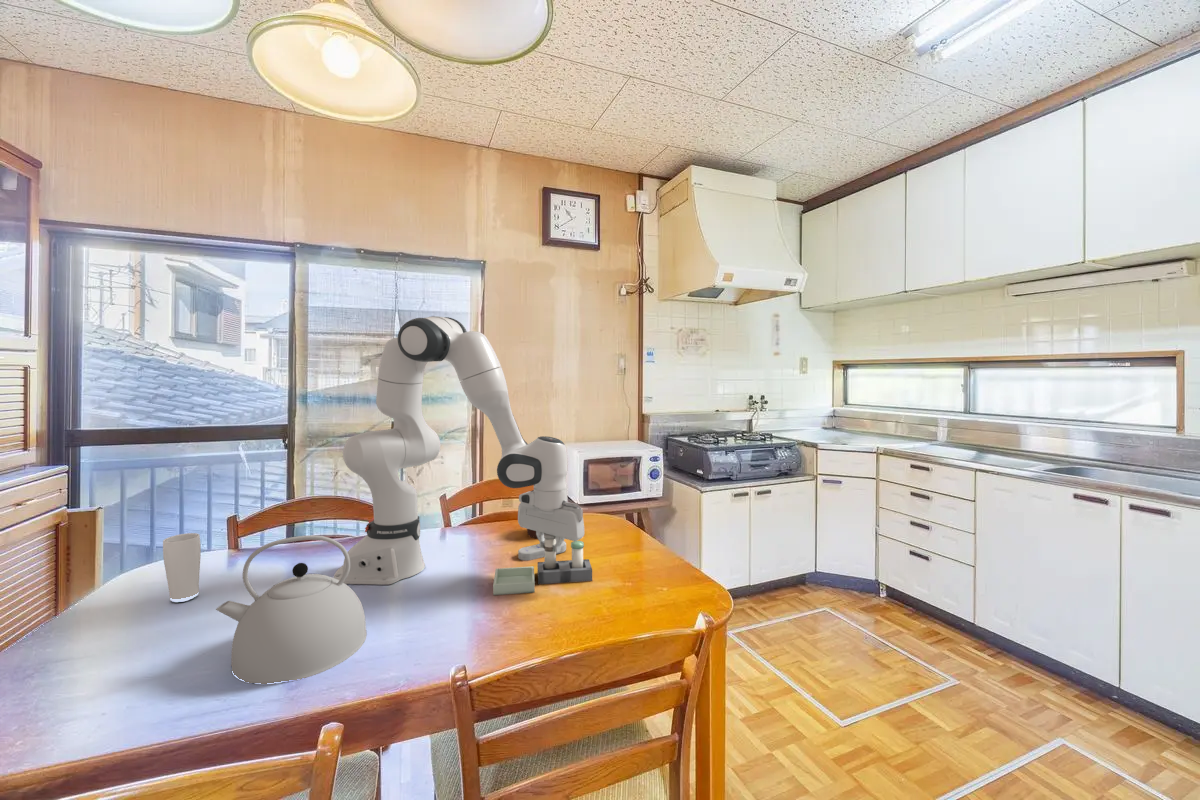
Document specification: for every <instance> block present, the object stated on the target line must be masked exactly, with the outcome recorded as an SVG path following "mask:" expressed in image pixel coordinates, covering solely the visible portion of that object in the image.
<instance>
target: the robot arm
mask: <svg viewBox="0 0 1200 800" xmlns="http://www.w3.org/2000/svg"><path fill="white" fill-rule="evenodd" d="M397 333H398V334H397V337H393V338H391V339H388V340H387V342H386V343H385V344H384V347H383V350H382V354H381V357H380V362H379V368H378V374H377V375H378V376H377V386H376V387H377V388H376V398H375V399H376V400H375V404H376V407H377V409H378V410H379V411H380V413H382V414H383V415H385V416H387V417H389V418H391V419H392V420H393V428H389V429H380V430H368V431H365V432H361V433H359V434H355V435H352V436H349V438H348V439H347V440H346V442H345V444H344V447H343V449H342V458H343V462H344V464H345V466H346V467H347V468H348V469H349V470H350V471H351V472H352V473H355V474H356V475H358V476H359V477H360V478H361V479H362V480H364V482H365V484H367V486H368V488H369V491H370V493H371V498H372V508H373V517H372V518H371V519H369V521H368V523H367V524H366V526H365V528H364V533H366V535H365V536H364V537H363V538H361V539H360V540H359V541H358V542H356V543H355V544H354V545H353V546H351V547H350V548H349V550H347V552H348V555H349V558H350V570H349V573H348V576H347V577H346V579H345V581H344V582H343V583H344V584H346V585H382V586H383V585H392V584H394V583H397V582H398V581H401V580H404V579H407V578H410V577H413V576H415V575H417V574H419V573H421V572H422V571H423V570H424V569H425V568H426V563H425V561H424V558H423V553H422V549H421V544H420V543H421V542H420V537H421V522H420V516H419V513H418V512H419V511H418V508H419V507H418V503H419V502H418V491H417V489H416V488H415V487H414V485H413V484H411V483H410V482H407V481H403V480H401V479H400V477H399V471H398V470H400V469H405V468H412V467H418V466H422V465H424V464H427V463H429V462H432V461H434V460H435V459H436V458H437V457H438V456H439V453H440V451H441V439H440V437H439V434H437V432H436V431H435V430H434V429H433V428H431V426H429V424H428V423H427V421H426V420H425V417H424V413H423V406H422V405H423V403H422V402H423V388H424V379H425V378H424V377H425V376H424V375H425V370H426V365H427V364H428V362H429V363H430V362H442V361H447V362H448V363H449V364H451V365H452V366H453V368H454V370H455V372H456V376H457V378H458V380H459V383H460V386H461V387H462V390H463V393H464V394H465V396H466V398H467V400H468V401H469V402H470V404H471V406H473V407H474V408H476V409H477V410H479V411H481V412H482V413H483V414H484V415H485V416H486V417H487V418H488V420H489V422H490V423H491V426H492V428H493V431H494V432H495V435H496V437H497V440H498V442H499V444H500V448H501V458H500V459H499V461H498V463H497V467H496V474H497V477H498V480H499V481H500V483H502V484H503V486H505V487H506V488H507V487H508V488H510V489H521V488H527V487H531V486H533V489H531V490H530V491H527V492H523V493H521V494H519V495H518V501H519V505H518V508H517V509H518V510H517V523H518V525H519V526H520V528H524V529H526V530H527V529H530V530H534V531H536V535H537V540H538V541H539V544H540V548H543V549H545V538H544V533H545V534H549V535H553V536H556V540H557V542H556V544H554V545H553V549H552V550H553V551H554V552H557V553H558V552H560V551H561V544H562V543H563V541H565V540H568V541H571V542H573V541H580V540H581V539H583V537H585V522H584V511H583V509H582V507H581V506H580V505H579V504H578V503H575V502H573V503H572V502H570V501H568V483H567V474H568V471H569V470H568V465H569V464H568V462H569V461H568V452H567V451H568V450H567V446H566V443H564V442H563V440H561V439H559V438H556V437H551V436H538V437H536V438H535V440H532V441H530V442H529V443H527V441H525V439H524V438H523V435H522V432H521V430H520V429H519V425H518V423H517V420H516V418H515V416H514V414H513V411H512V407H511V402H510V396H509V390H508V389H509V388H508V384H507V381H506V376H505V373H504V370H503V367H502V364H501V362H500V360H499V357H498V356H497V353H496V352H495V349H494V347H493V346H492V344H491V342H490V341H489V339H488V338H487V336H486V335H485V334H484V333H482V332H480V331H474V330H471V331H467V329H466V328H465V326H464V325H463V323H461V322H460V321H459V320H456V319H455V318H452V317H449V316H445V317H443V316H435V315H431V316H428V317H417V318H416V317H415V318H412V319H410V320H408V321H406V322H405V323H403V325H402V326H401V327H400V328H399V331H398V332H397ZM345 569H346V560H345V558H344V560H343V564H342V565H341V566H340V567H339V568H338V569H337V570H336V571H335V573H334V575H333V578H335V579H337V580H339V581H340V579H341V578H342V576H343V574H344V572H345Z"/></svg>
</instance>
